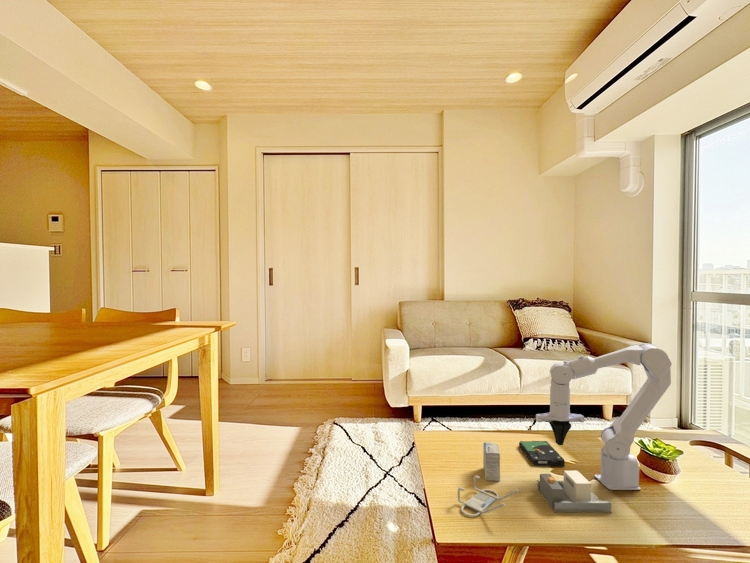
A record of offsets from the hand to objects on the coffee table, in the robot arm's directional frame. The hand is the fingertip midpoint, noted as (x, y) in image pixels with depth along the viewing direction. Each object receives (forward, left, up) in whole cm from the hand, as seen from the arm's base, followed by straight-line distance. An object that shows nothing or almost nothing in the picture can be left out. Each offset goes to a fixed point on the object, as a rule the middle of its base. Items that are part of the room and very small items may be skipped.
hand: (559, 443), depth 123 cm
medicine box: (+22, +1, -10) cm, 24 cm away
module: (+2, +15, -9) cm, 17 cm away
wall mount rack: (+28, +18, -10) cm, 35 cm away
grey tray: (+4, +15, -9) cm, 18 cm away
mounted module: (+10, +15, -9) cm, 20 cm away
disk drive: (+1, -12, -10) cm, 16 cm away
